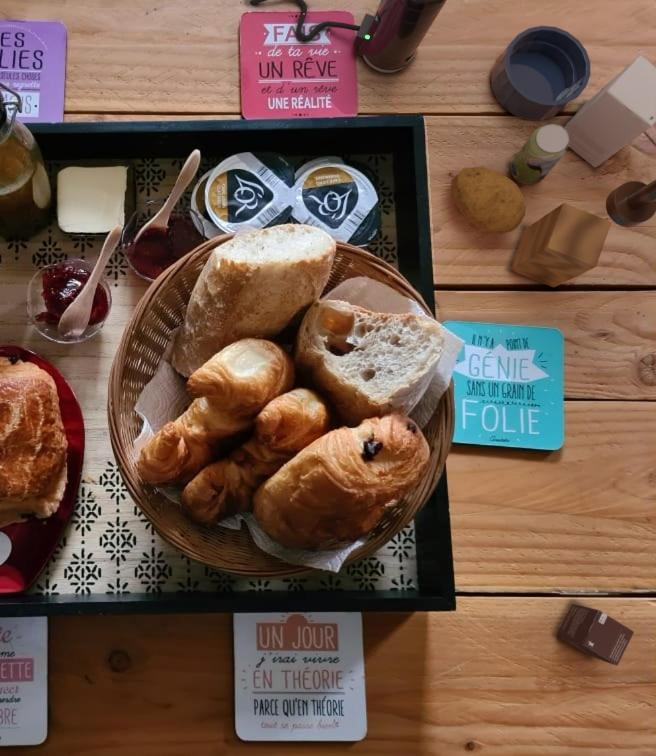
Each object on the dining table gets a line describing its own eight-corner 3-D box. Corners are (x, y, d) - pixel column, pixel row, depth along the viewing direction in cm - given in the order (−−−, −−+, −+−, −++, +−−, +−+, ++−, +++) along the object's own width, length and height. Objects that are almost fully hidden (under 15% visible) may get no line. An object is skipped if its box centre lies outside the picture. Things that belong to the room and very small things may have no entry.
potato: (498, 140, 120) (458, 171, 118) (551, 203, 119) (511, 235, 117) (467, 165, 129) (429, 195, 127) (516, 224, 128) (478, 254, 126)
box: (588, 656, 117) (617, 667, 109) (554, 635, 117) (581, 645, 110) (605, 622, 118) (635, 631, 110) (572, 602, 118) (600, 609, 111)
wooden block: (509, 269, 126) (547, 247, 114) (524, 228, 127) (563, 202, 115) (553, 287, 126) (596, 267, 114) (568, 246, 127) (612, 221, 115)
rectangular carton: (625, 134, 130) (687, 89, 115) (594, 169, 129) (652, 128, 114) (585, 101, 131) (641, 52, 116) (554, 136, 130) (606, 91, 115)
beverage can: (543, 187, 128) (584, 157, 116) (501, 186, 128) (537, 156, 116) (541, 153, 129) (581, 120, 117) (500, 152, 129) (535, 119, 117)
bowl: (477, 104, 130) (493, 85, 124) (504, 34, 132) (521, 13, 126) (555, 134, 130) (575, 117, 124) (581, 64, 132) (601, 44, 126)
